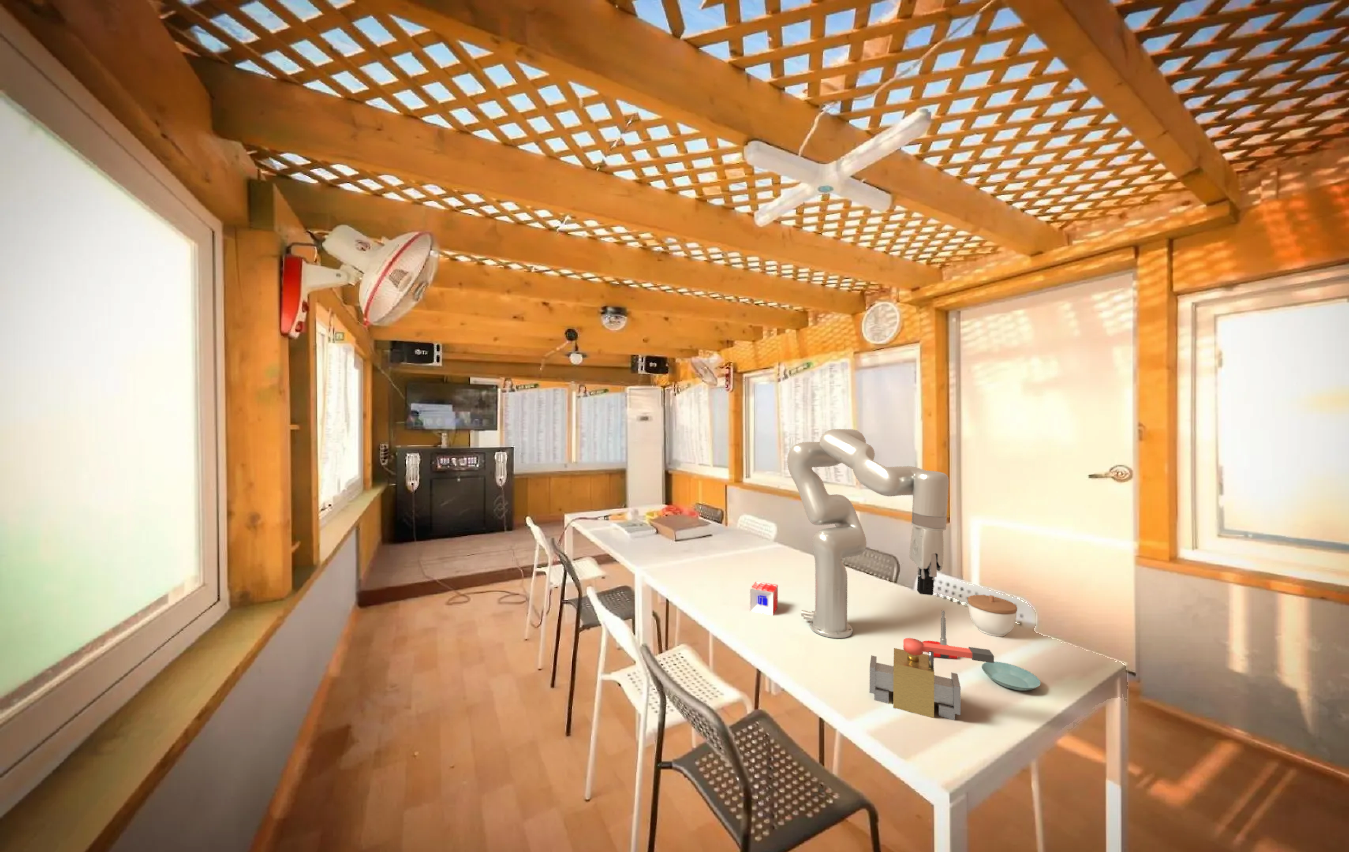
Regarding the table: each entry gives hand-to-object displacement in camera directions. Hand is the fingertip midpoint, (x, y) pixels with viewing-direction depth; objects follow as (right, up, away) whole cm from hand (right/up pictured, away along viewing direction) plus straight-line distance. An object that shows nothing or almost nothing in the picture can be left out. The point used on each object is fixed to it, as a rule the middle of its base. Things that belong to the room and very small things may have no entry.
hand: (924, 593), depth 113 cm
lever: (-1, -10, -11) cm, 15 cm away
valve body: (-8, -22, -9) cm, 25 cm away
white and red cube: (-32, -22, +44) cm, 59 cm away
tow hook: (+12, -22, +16) cm, 30 cm away
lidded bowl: (+36, -23, +28) cm, 51 cm away
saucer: (+21, -23, 0) cm, 31 cm away
